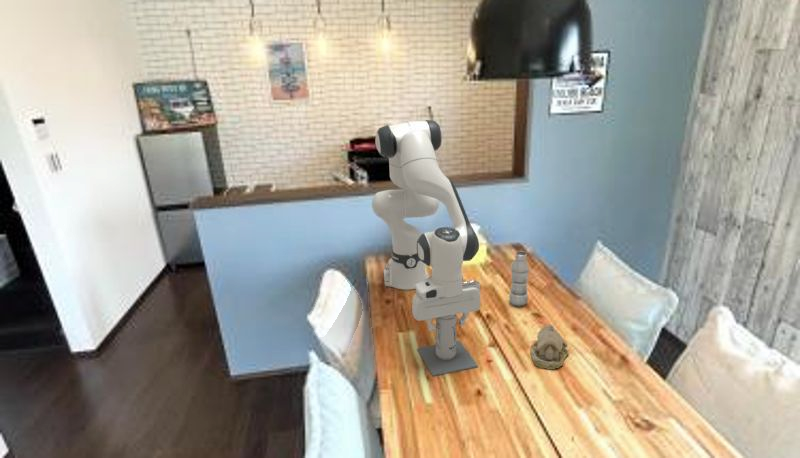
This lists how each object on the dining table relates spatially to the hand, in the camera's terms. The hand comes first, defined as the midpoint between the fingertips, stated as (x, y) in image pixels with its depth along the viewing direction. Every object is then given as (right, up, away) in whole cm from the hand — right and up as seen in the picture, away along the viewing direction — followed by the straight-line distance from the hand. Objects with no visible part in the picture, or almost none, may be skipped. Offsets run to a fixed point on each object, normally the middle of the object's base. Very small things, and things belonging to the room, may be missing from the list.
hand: (446, 327), depth 135 cm
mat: (0, -10, +3) cm, 11 cm away
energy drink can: (0, -10, +4) cm, 10 cm away
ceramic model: (+31, -10, +3) cm, 33 cm away
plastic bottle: (+30, +1, +34) cm, 45 cm away
